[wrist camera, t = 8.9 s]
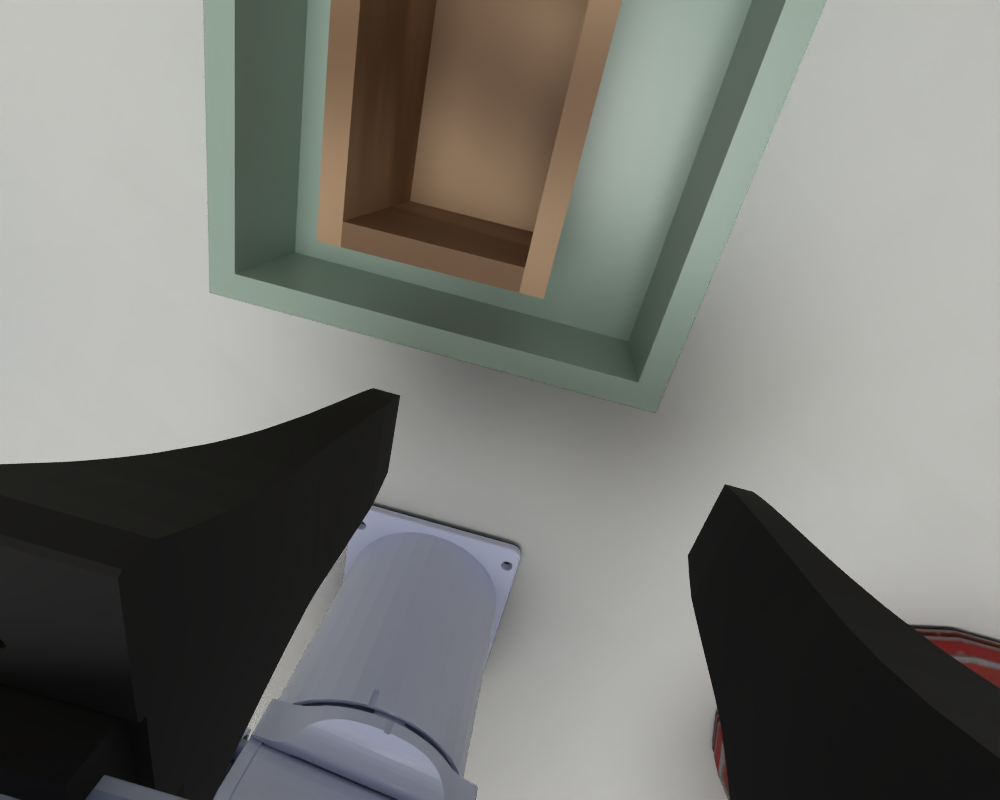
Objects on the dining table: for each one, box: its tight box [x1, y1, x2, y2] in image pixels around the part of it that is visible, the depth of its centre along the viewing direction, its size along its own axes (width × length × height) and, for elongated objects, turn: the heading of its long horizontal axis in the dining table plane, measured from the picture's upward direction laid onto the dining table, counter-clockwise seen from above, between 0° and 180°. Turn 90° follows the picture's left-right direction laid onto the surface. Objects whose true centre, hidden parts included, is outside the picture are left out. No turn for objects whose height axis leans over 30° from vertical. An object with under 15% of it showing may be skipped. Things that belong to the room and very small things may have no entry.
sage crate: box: [203, 0, 826, 413], centre depth 15 cm, size 14×14×4 cm
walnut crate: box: [317, 0, 622, 299], centre depth 13 cm, size 8×6×6 cm
